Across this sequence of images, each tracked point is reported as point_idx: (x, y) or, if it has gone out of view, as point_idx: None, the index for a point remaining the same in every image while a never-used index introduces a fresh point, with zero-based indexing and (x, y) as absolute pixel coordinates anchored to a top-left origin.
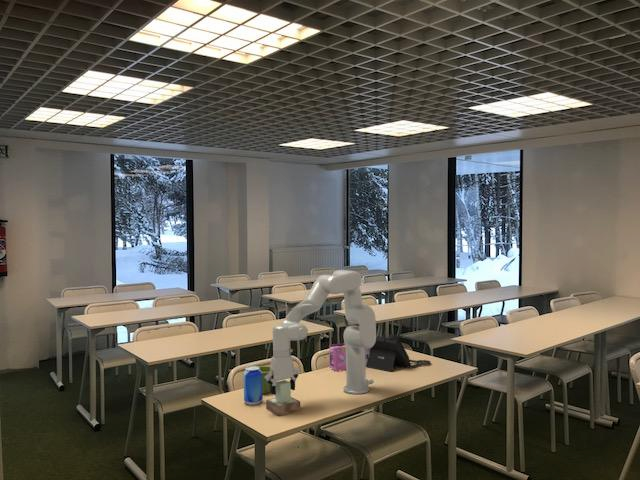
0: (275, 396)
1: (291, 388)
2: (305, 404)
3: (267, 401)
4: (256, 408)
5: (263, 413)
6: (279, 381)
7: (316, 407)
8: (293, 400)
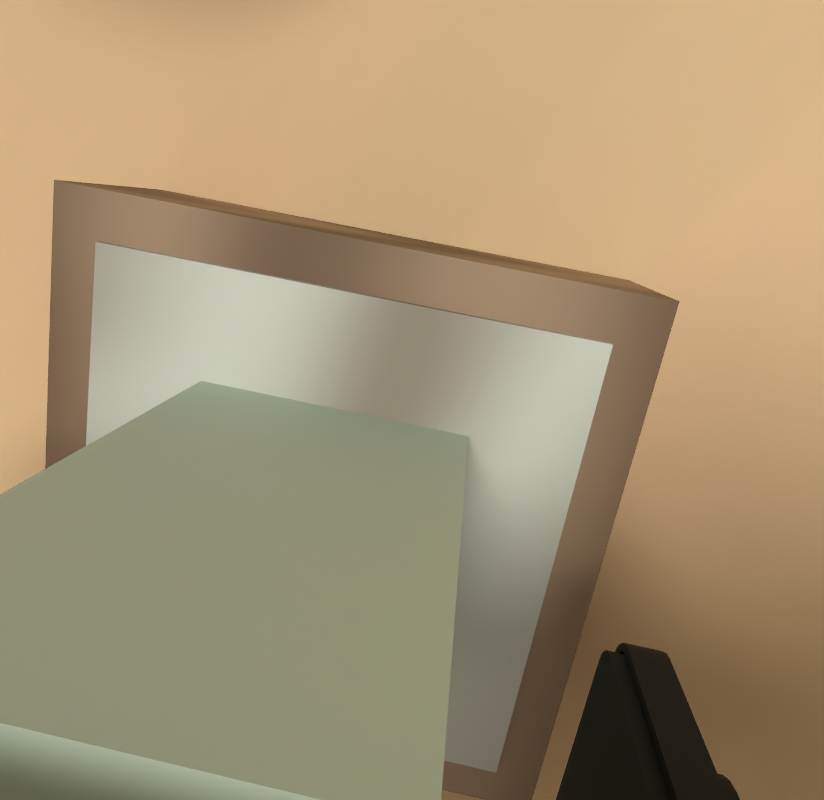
0: (159, 413)
1: (582, 752)
2: (804, 564)
3: (63, 252)
4: (39, 4)
5: (14, 329)
6: (8, 774)
7: (788, 783)
8: (462, 699)
